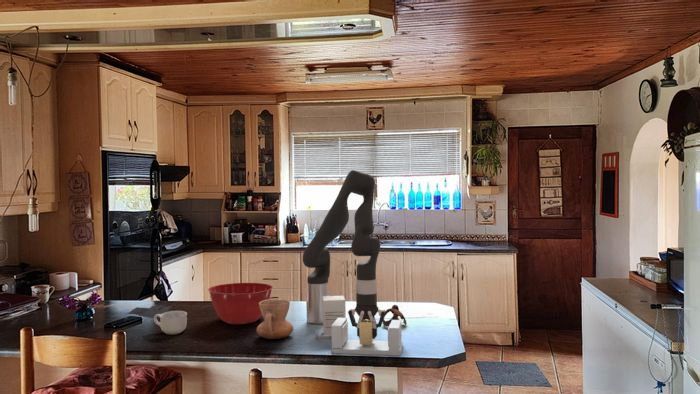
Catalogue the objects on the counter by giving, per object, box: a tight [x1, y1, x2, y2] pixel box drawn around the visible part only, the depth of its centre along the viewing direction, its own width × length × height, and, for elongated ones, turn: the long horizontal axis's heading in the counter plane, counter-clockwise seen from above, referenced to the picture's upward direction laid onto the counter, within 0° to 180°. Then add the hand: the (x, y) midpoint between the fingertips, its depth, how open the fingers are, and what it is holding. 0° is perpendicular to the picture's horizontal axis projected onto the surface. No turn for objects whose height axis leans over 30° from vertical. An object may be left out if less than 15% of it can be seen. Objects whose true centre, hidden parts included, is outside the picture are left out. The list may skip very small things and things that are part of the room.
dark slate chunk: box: [127, 305, 174, 319], centre depth 255 cm, size 15×22×5 cm
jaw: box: [315, 317, 349, 349], centre depth 197 cm, size 10×12×8 cm
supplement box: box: [322, 295, 347, 336], centre depth 216 cm, size 9×9×15 cm
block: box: [359, 319, 375, 345], centre depth 195 cm, size 4×7×8 cm, turn 170°
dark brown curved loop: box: [382, 304, 407, 327], centre depth 229 cm, size 12×9×8 cm
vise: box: [331, 319, 404, 356], centre depth 195 cm, size 24×12×10 cm, turn 80°
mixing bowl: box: [207, 282, 273, 325], centre depth 240 cm, size 28×28×16 cm
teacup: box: [153, 310, 188, 335], centre depth 223 cm, size 14×11×8 cm
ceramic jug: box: [256, 298, 294, 340], centre depth 213 cm, size 18×14×14 cm
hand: (367, 337), depth 195 cm, fingers closed on block, 4 cm apart
